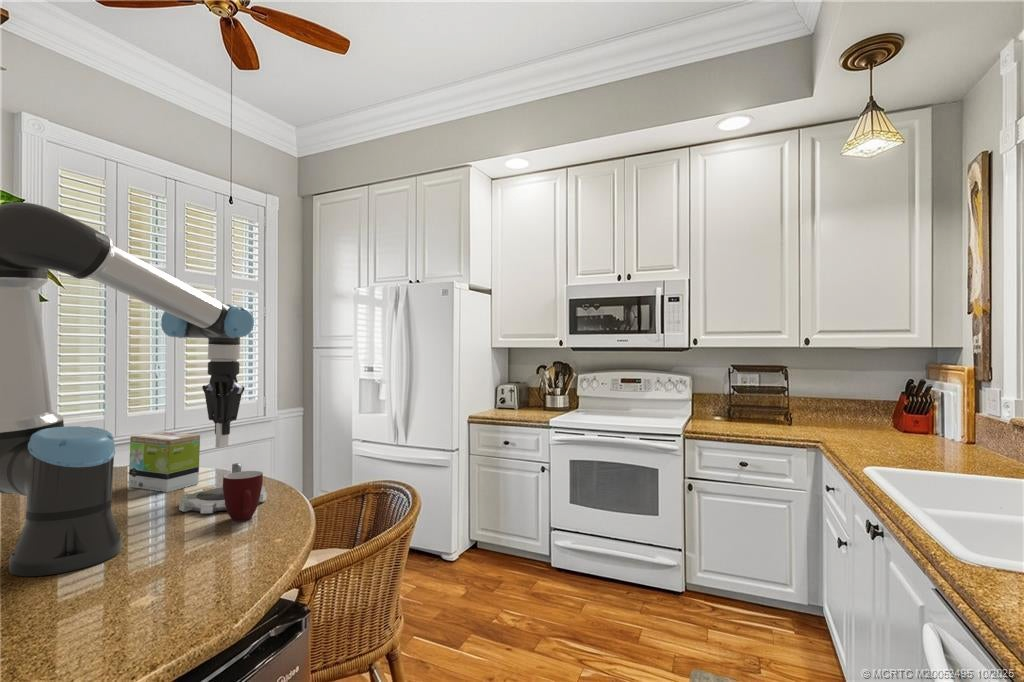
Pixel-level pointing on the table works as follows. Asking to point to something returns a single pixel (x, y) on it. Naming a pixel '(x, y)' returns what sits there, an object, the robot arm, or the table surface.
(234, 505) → the mug
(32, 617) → the table surface
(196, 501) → the sprocket
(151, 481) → the tea box
